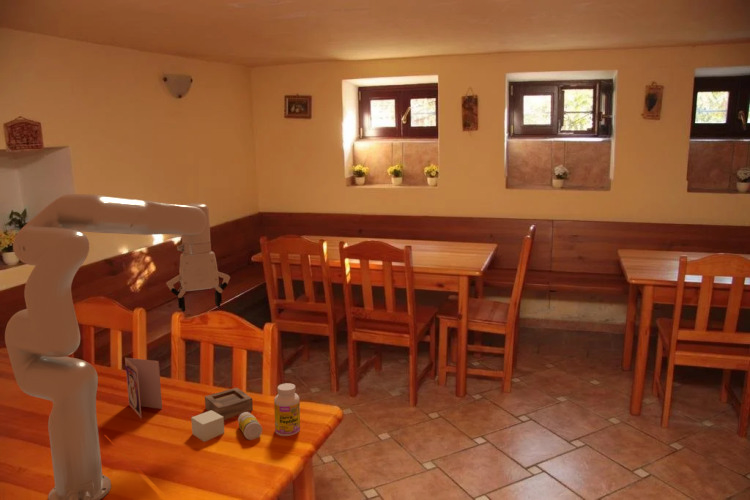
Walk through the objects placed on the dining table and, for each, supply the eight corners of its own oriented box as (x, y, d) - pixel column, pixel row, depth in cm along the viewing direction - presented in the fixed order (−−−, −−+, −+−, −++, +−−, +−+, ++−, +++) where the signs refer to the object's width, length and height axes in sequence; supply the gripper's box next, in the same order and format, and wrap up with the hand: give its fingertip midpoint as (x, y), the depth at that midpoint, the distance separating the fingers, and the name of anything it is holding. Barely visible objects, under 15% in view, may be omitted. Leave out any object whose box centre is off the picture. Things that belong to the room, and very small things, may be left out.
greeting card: (126, 406, 175) (121, 358, 172) (151, 399, 180) (147, 352, 177) (138, 420, 166) (134, 369, 164) (164, 412, 171) (161, 363, 168)
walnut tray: (253, 414, 170) (252, 398, 169) (220, 424, 164) (219, 408, 163) (237, 402, 178) (236, 387, 177) (205, 412, 172) (204, 396, 171)
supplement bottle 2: (276, 439, 155) (274, 393, 152) (274, 428, 161) (272, 383, 159) (302, 436, 156) (300, 390, 154) (298, 424, 163) (297, 380, 160)
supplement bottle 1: (250, 444, 154) (242, 430, 161) (265, 432, 155) (257, 419, 163) (240, 430, 152) (233, 417, 160) (256, 419, 154) (248, 407, 161)
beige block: (224, 434, 158) (223, 416, 157) (204, 442, 154) (203, 424, 153) (212, 427, 162) (211, 410, 161) (192, 435, 158) (191, 417, 157)
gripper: (166, 253, 158) (170, 315, 161) (231, 247, 166) (234, 307, 169) (162, 249, 164) (166, 309, 167) (224, 243, 172) (227, 301, 175)
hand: (200, 308), depth 168 cm, fingers open, 9 cm apart
